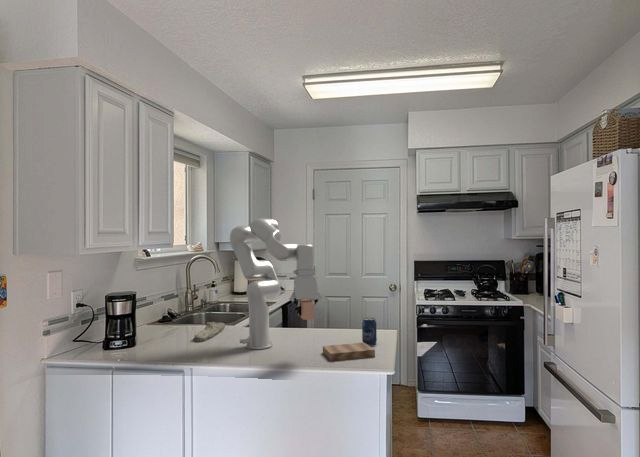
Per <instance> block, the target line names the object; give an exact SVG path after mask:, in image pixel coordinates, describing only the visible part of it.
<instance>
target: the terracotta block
mask: <svg viewBox="0 0 640 457" xmlns="http://www.w3.org/2000/svg"><path fill="white" fill-rule="evenodd" d="M300 305H301V316H299V317H300V318H301V319H302V320H303V321H306V320H307V321H311V320H315V306H314V302H312V301H311V300H310V299H309V300H301V304H300Z"/></svg>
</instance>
